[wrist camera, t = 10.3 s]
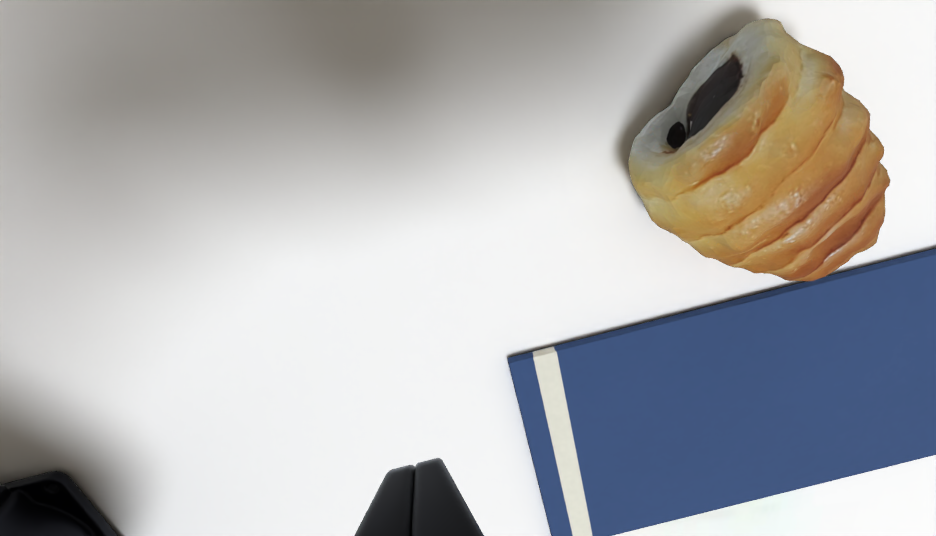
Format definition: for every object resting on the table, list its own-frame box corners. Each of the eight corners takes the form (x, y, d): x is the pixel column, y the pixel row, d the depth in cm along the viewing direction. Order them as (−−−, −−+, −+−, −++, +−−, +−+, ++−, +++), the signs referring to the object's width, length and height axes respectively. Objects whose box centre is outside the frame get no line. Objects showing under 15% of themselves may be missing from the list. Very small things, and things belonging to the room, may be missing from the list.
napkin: (975, 437, 26) (984, 443, 26) (553, 542, 27) (555, 550, 26) (1035, 222, 21) (1046, 226, 21) (507, 357, 21) (508, 363, 21)
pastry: (895, 170, 20) (997, 203, 16) (756, 301, 22) (821, 356, 18) (736, 0, 16) (821, -3, 13) (592, 172, 18) (633, 209, 15)
